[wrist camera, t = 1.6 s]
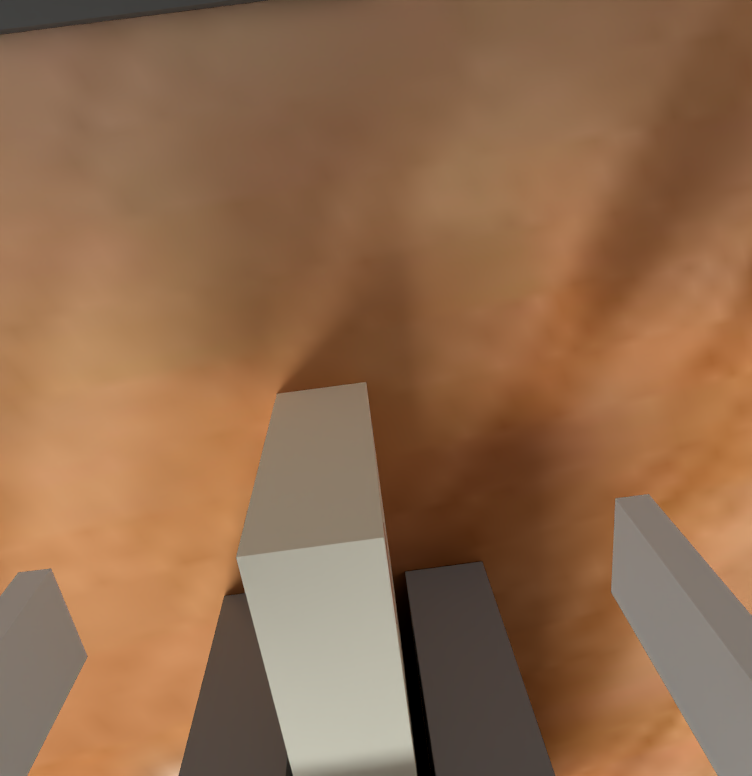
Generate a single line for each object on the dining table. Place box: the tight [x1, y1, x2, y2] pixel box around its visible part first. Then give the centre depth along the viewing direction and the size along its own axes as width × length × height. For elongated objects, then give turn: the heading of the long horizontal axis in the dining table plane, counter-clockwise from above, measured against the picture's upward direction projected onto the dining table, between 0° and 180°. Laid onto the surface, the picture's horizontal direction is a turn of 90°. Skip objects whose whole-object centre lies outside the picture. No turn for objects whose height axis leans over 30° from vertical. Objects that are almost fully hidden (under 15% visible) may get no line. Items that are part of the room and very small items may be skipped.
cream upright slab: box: [236, 382, 418, 776], centre depth 18 cm, size 3×13×8 cm, turn 7°
